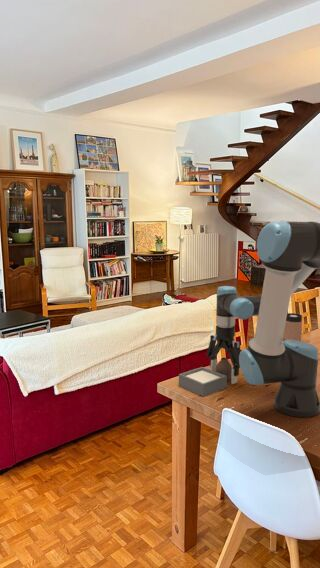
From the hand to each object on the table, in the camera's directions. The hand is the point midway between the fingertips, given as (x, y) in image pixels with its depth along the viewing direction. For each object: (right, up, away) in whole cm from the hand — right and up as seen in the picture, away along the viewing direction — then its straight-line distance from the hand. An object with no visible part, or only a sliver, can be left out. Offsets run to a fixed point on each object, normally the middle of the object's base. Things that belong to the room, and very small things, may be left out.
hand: (223, 378), depth 175 cm
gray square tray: (-9, -1, -8) cm, 12 cm away
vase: (0, 0, 0) cm, 0 cm away
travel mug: (+36, +4, +28) cm, 46 cm away
